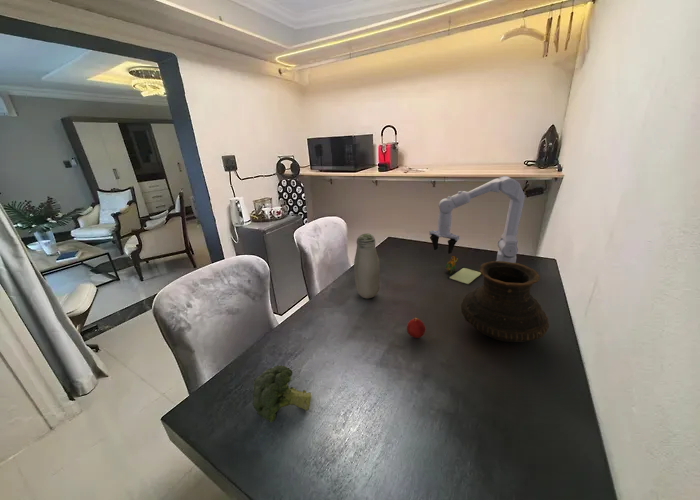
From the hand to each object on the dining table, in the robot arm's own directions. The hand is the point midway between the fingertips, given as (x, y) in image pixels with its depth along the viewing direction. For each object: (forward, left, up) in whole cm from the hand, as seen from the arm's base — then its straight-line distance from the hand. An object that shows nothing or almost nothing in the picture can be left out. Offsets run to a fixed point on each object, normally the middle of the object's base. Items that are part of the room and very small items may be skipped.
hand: (442, 251), depth 129 cm
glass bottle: (+43, -10, -10) cm, 45 cm away
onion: (+51, +20, -10) cm, 56 cm away
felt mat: (0, +12, -9) cm, 16 cm away
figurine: (0, +5, -10) cm, 11 cm away
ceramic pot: (+30, +38, -10) cm, 50 cm away
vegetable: (+95, +11, -10) cm, 96 cm away
